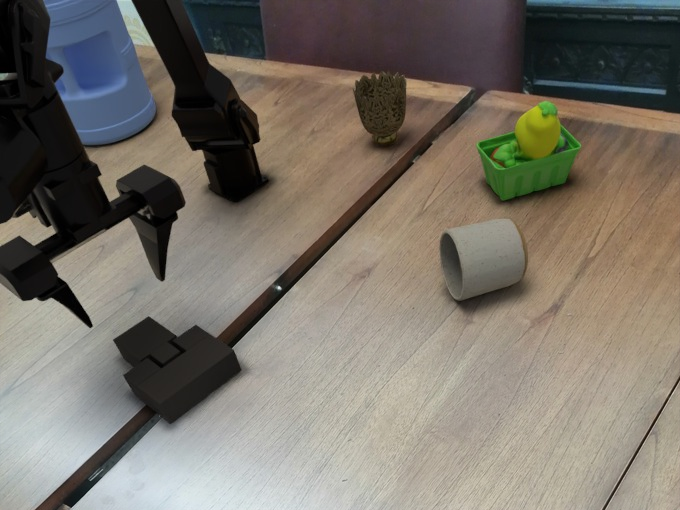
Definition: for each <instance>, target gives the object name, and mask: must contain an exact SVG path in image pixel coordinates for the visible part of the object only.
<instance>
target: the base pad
mask: <svg viewBox="0 0 680 510" xmlns="http://www.w3.org/2000/svg"><path fill="white" fill-rule="evenodd" d="M173 342H174V344H175V346H176V348H177V349H178V350H179V351H180V352H181V355H180V356H179V357H177V358H176V359H174V360H173V361H172V362H170V363H169V364H167V365H166V366H164V367H163V368H162V369H161V368H160V367H159V366H158V365H156V364H155V363H154V362H152V361H151V360H150V359H148V358H147V359H145V360H144V361H142V362H141V363H139V364H138V365H136V366H135V367H132V368H130V369H129V370H128V371H126V372H125V373H123V375H122V376H123V378H124V381H125V382H126V383H127V385H128V387H129V388H130V391H131V392H132V394H133V395H134V396H135V397H136V398H137V399H139V400H140V401H141V402H142V403H144V404H145V405H146V406H147V407H148V408H150V409H151V410H152V411H154V412H155V413H156V414H157V415H159V416H160V417H161V418H162V419H164V420H165V421H166V422H168V423H169V424H172V423H173V422H174V421H176V420H177V419H179V418H180V417H182V416H183V415H184V414H185V413H187V412H188V411H189V410H191V409H192V408H193V407H195V406H196V405H198V404H199V403H200V402H201V401H203V400H204V399H206V398H207V397H208V396H210V395H211V394H212V393H214V392H215V391H217V390H218V389H219V388H220V387H222V386H223V385H224V384H226V383H227V382H228V381H230V380H232V378H233V377H235V376H237V375H238V374H240V372H242V368H241V367H242V366H241V364H240V361H239V359H238V356H237V353H236V351H235V350H234V349H233V348H232V347H230V346H228V344H226V343H224V342H223V341H222V340H220V339H219V338H217V337H215V336H214V335H213V334H211V333H209V332H208V331H207V330H205V329H204V328H202V327H200V326H199V325H198V324H194V325H192V327H190V328H189V329H187V330H186V331H184V332H183V333H181V334H180V335H178V336H177V338H176V339H174V340H173Z"/></svg>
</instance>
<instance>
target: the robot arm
mask: <svg viewBox="0 0 680 510" xmlns="http://www.w3.org/2000/svg"><path fill="white" fill-rule="evenodd" d="M130 1H131V3H132V4H133V7H134V9H135V10H136V13H137V14H138V17H139V18H140V20H141V22H142V24H143V26H144V28H145V30H146V32H147V35H148V36H149V38H150V40H151V42H152V44H153V46H154V48H155V50H156V52H157V54H158V56H159V58H160V60H161V62H162V63H163V66H164V68H165V70H166V71H167V73H168V75H169V77H170V79H171V82H172V84H173V86H174V92H173V100H172V108H171V117H172V119H173V120H174V122H175V123H176V125H177V127H178V129H179V132H180V135H181V138H184V139H185V141H186V143H187V144H188V147H189V148H190V150H191V151H192V152H197V151H201V152H202V154H203V157H204V161H203V167H204V169H205V172H206V176H207V179H208V182H209V183H208V184H207V187H208V189H209V190H210V191H212V192H215V194H218V195H220V196H221V197H224V198H226V199H228V200H229V201H232V202H235V203H236V202H239V201H240V200H242V199H243V198H245V197H246V196H249V195H250V194H251V193H253V192H254V191H256V190H258V189H259V188H261V187H262V186H264V185H265V184H267V183H269V182H270V179H269V176H267V175H264V174H263V173H262V172H261V168H260V165H259V161H258V158H257V154H256V150H255V145H256V144H258V143H260V142H261V137H260V136H261V135H260V123H259V120H258V114H257V113H256V112H255V111H254V110H253V109H252V108H251V107H250V106H249V105H248V104H247V103H246V102H245V101H244V100H243V99H241V97H240V95H239V93H238V91H237V89H236V87H235V85H234V83H233V82H232V79H230V78H229V77H228V76H227V75H225V74H224V73H223V72H221V71H220V70H219V69H217V68H216V67H215V66H213V65H212V64H211V63H210V61H209V60H208V56H207V55H206V53H205V51H204V48H203V46H202V44H201V42H200V39H199V37H198V35H197V32H196V30H195V28H194V25H193V23H192V21H191V19H190V16H189V13H188V12H187V9H186V7H185V5H184V3H183V1H182V0H130ZM49 28H50V16H49V13H48V11H47V9H46V6H45V4H44V2H43V0H0V75H3V74H7V75H6V76H5V77H4V78H3V79H0V225H1V224H5V223H7V222H9V221H10V220H11V219H18V218H20V217H22V216H24V215H25V214H27V213H29V214H30V216H31V217H32V218H33V219H37V220H38V221H39V222H40V224H41V225H42V226H43V227H45V228H46V229H48V228H50V227H51V228H52V229H53V231H54V232H55V233H53V234H51V235H50V236H48V237H45V239H43V240H42V241H39V242H38V243H37V244H35V245H33V244H32V243H31V242H30V241H28V240H27V239H26V238H24V237H23V236H21V235H17V236H15V237H14V238H12V239H10V240H8V241H7V242H5V243H4V244H2V245H0V285H2V286H3V287H4V288H5V289H7V290H8V291H9V292H11V293H12V294H13V295H14V296H16V297H17V298H18V299H19V300H20V301H22V302H28V301H33V300H34V299H36V300H37V301H39V302H46V301H48V300H50V299H52V300H54V301H56V302H57V303H59V304H60V305H62V307H64V308H65V309H66V310H67V311H69V312H70V313H71V314H72V315H73V316H74V317H75V318H76V319H78V320H79V321H80V322H81V323H83V324H84V325H85V326H86V327H88V329H92V328H93V327H94V325H93V322H92V320H91V317H90V316H89V314H88V312H87V310H86V309H85V308H84V306H83V305H82V303H81V302H80V300H79V299H78V297H77V296H76V294H75V293H74V291H73V290H72V288H71V287H70V286H69V283H68V282H67V281H65V280H64V279H63V278H61V277H60V276H59V273H58V271H57V269H56V268H55V266H54V263H56V262H57V261H59V260H60V259H63V258H64V257H66V256H68V255H69V254H71V253H72V252H74V251H77V249H79V248H81V247H83V246H85V245H86V244H87V243H89V242H91V241H93V240H94V239H96V238H97V237H99V236H101V235H102V234H105V233H106V232H107V231H108V230H111V229H112V228H113V227H116V226H117V225H119V224H120V223H122V222H123V221H126V220H127V219H129V220H130V222H131V224H132V225H133V227H134V228H135V230H136V233H137V235H138V238H139V241H140V243H141V245H142V249H143V251H144V253H145V256H146V259H147V261H148V264H149V266H150V269H151V270H152V272H153V274H154V276H155V278H156V279H157V280H158V281H160V282H162V283H163V282H165V280H166V273H167V260H168V251H169V244H170V239H171V234H172V229H173V224H174V223H175V222H176V221H178V220H179V215H178V212H179V211H180V210H182V209H184V208H185V207H186V203H187V202H186V199H185V196H184V193H183V191H182V188H181V186H180V185H179V183H178V182H177V181H176V179H175V178H173V177H170V176H169V175H167V174H164V173H163V172H160V171H159V170H157V169H156V168H153V167H152V166H149V165H148V164H147V165H146V164H143V165H141V166H139V167H137V168H135V169H134V170H132V171H130V172H128V173H126V174H125V175H123V176H121V177H120V178H118V179H116V183H115V187H116V190H117V193H118V194H119V195H118V196H117V197H115V198H114V199H112V200H110V199H109V197H108V195H107V193H106V191H105V189H104V186H103V184H102V183H101V180H100V177H101V176H103V174H102V172H101V170H100V168H99V166H98V163H96V162H94V161H93V160H91V159H90V156H89V155H88V152H87V149H85V145H84V144H82V142H81V139H80V137H79V135H78V133H77V131H76V129H75V127H74V124H73V122H72V120H71V118H70V116H69V114H68V111H67V109H66V107H65V105H64V103H63V101H62V99H61V96H60V94H59V92H58V90H57V88H56V86H55V82H56V81H57V80H58V79H59V78H60V77H61V76H62V75H63V73H64V70H63V67H62V66H61V65H60V64H58V63H56V62H54V61H51V60H49V59H47V58H46V51H47V44H48V36H49Z"/></svg>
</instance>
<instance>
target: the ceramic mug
mask: <svg viewBox="0 0 680 510" xmlns="http://www.w3.org/2000/svg"><path fill="white" fill-rule="evenodd" d="M438 248H439V258H440V260H439V261H440V266H441V271H442V275H443V280H444V282H445V285H446V287H447V289H448V292H449V293H450V295H451V297H452V298H453V299H454V300H455V301H457V302H458V301H459V302H460V301H464V300H467V299H471V298H473V297H477V296H481V295H484V294H487V293H491V292H494V291H497V290H501V289H504V288H506V287H510V286H513V285H514V284H516V283H518V282H520V281H521V280H522V279H523V278H524V277H525V274H526V273H527V270H528V265H529V252H528V244H527V241H526V237H525V234H524V232H523V229H522V227H520V225H519V224H518V223H517V222H516V221H515V220H513V219H512V218H493V219H489V220H485V221H481V222H476V223H472V224H466V225H461V226H455V227H451V228H447V229H445V230H443V231H442V233H441V234H440V239H439V247H438Z"/></svg>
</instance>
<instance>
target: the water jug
mask: <svg viewBox="0 0 680 510" xmlns="http://www.w3.org/2000/svg"><path fill="white" fill-rule="evenodd" d="M43 2H44V4H45V6H46V9H47V11H48V13H49V16H50V28H49V36H48V44H47V51H46V58H47V59H49V60H51V61H54V62H56V63H58V64H60V65H61V66H62V67H63V70H64V73H63V75H62V76H61V77H60V78H59V79H58V80H57V81H56V82H55V86H56V88H57V90H58V92H59V94H60V96H61V99H62V101H63V103H64V105H65V107H66V109H67V111H68V114H69V116H70V118H71V120H72V122H73V124H74V127H75V129H76V131H77V133H78V135H79V137H80V139H81V142H82V144H83V146H100V145H101V146H103V145H107V144H112V143H117V142H119V141H123V140H126V139H127V138H130V137H132V136H134V135H136V134H138V133H139V132H141V131H143V130H144V129H145V128H146V127H147V126H148V125H150V124H151V122H152V121H153V120H154V118H155V115H156V111H157V105H156V101H155V100H154V96H153V94H152V92H151V91H150V88H149V85H148V82H147V79H146V77H145V74H144V72H143V69H142V66H141V63H140V61H139V58H138V54H137V50H136V49H137V48H136V47H135V44H134V41H133V39H132V36H131V35H130V33H129V30H128V27H127V25H126V22H125V20H124V17H123V14H122V11H121V8H120V6H119V4H118V1H117V0H43Z"/></svg>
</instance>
